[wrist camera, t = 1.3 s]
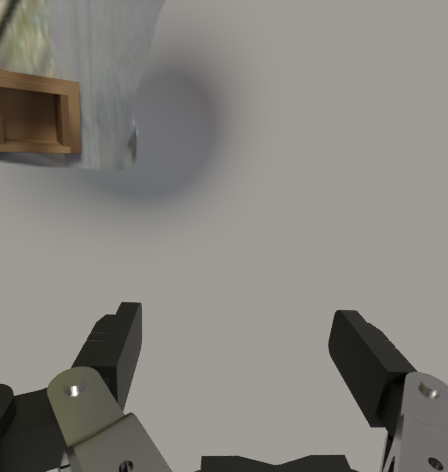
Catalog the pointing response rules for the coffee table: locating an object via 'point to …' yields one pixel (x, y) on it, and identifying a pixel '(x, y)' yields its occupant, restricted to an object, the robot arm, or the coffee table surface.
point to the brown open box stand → (39, 114)
